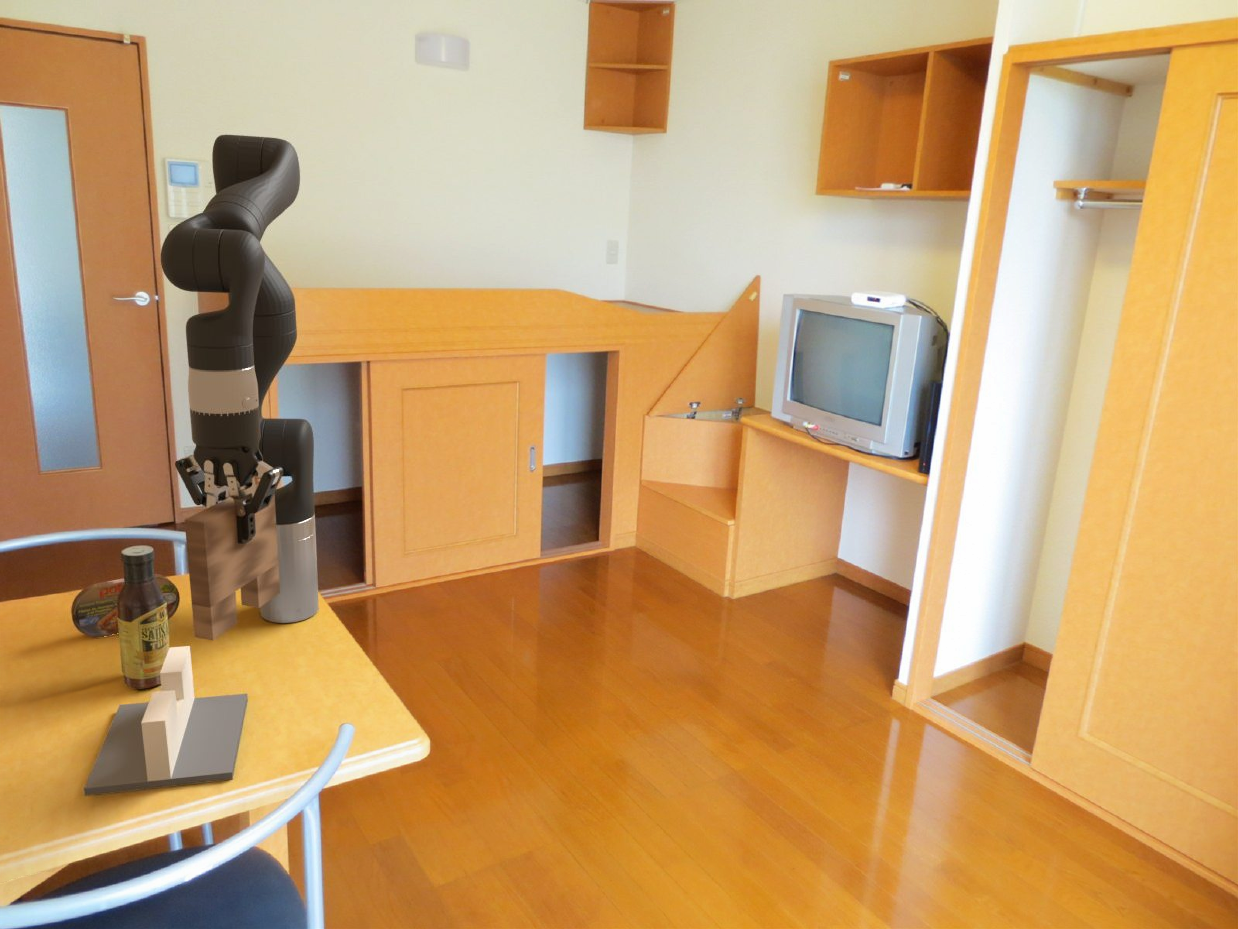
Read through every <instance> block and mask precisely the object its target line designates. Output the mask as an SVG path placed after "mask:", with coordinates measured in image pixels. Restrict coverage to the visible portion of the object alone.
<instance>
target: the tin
mask: <svg viewBox="0 0 1238 929" xmlns="http://www.w3.org/2000/svg"><path fill="white" fill-rule="evenodd" d="M155 578H156V581H157V583H158V585H159V587H160V590H161V592H162V594H163V596H164V598H165V600H166V602H167V616H168V621H169V620H170V619H171V618H172V617H174V615H175V613H176V611H177V610H178V608H179V606H180V602H181V601H180V600H181V599H180V598H181V597H180V591H179V590H178V587H177V586H176V585H175V583H173V582H172V581H171V580H170V579H169V578H168V577H166V576H164V575H163V574H159V573H155ZM124 583H125V581H124V577H123V578H118V579H113V580H107V581H103V582H102V581H101V582H96V583H93V584H91V585H88V586H86V587H85V588H83V589H82V590H81V591H80V592H79V593H77V594H76V596H75V598H74V599H73V602H72V604H71V609H70V611H71V612H70V614H71V619H72V623H73V626H74V627H75V628H76V629H77V631H79V632H80V633H81V634H82V635H84V636H87V637H90V638H97V637H103V638H105V637H104V636H108V637H110V636H109V635H112V634H117V633H119V630H118V619H117V615H118V608H117V597H118V594H119V592H120V591H121V588H122V587H123V585H124ZM117 635H118V634H117ZM112 636H113V635H112ZM97 639H98V638H97Z"/></svg>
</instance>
